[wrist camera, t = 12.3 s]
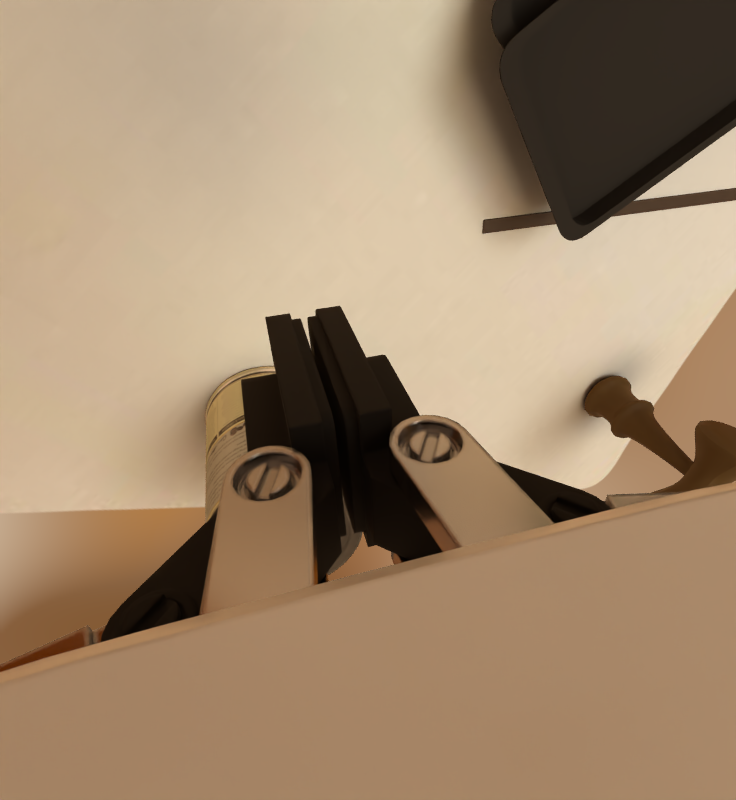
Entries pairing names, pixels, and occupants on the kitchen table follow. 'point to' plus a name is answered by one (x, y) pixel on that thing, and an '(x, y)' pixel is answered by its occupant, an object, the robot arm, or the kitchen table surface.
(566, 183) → the tray
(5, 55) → the kitchen table surface
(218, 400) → the coffee can
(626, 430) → the kendama
